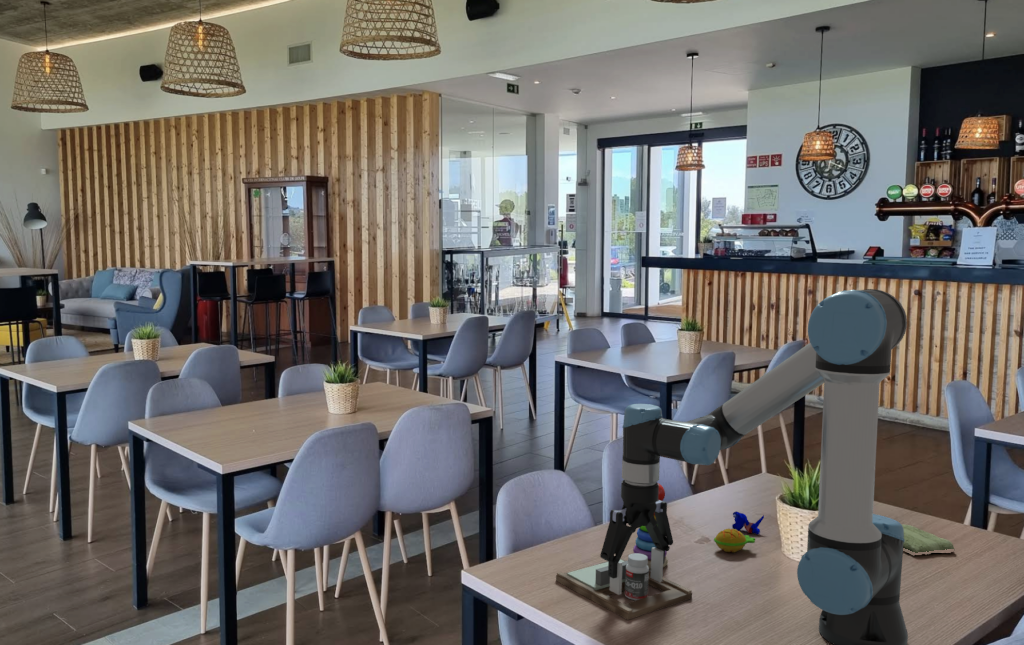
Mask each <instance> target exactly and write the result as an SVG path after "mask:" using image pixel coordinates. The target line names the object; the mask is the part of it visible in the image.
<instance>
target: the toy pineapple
mask: <svg viewBox="0 0 1024 645" xmlns="http://www.w3.org/2000/svg"><path fill="white" fill-rule="evenodd" d="M713 541H714V542H715V544H716V546H717V547H718V548H719V549H721V551H724V552H726V553H736V552H739V551H741V550H743V548H744V547H745V546H746V545H747V544H755V543H756V538H755V537H751V536H750V535H746V534H745V535H744V533H742V532H741V530H740V531H738V530H736V529H733V528H725V529H723V530H721V531H719V532H718V533H717V534H716V536H715V537H714V539H713Z"/></svg>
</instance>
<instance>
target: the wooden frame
mask: <svg viewBox="0 0 1024 645" xmlns="http://www.w3.org/2000/svg"><path fill="white" fill-rule="evenodd" d="M620 559H621V560H623V561H628V559H625V558H622V557H621V558H620ZM605 562H608V561H607V560H606V561H604V562H601V563H595V564H593V565H589V566H585V567H582V568H579V569H574V570H570V571H568V572H562V571H559V572H556V575H555V582H558V583H559V584H561V585H563V586H565V587H566V588H569V589H570V590H572V591H574V592H575V593H577V594H579V595H581V596H583V597H585V598H587V599H588V600H590V601H592V602H594V603H596V604H598V605H599V606H601V607H603V608H605V609H607V610H608V611H610V612H613V613H614V614H616V615H618V616H620V617H621V618H623V619H625V620H627V621H629V620H631V619H635V618H637V617H640V616H643V615H646V614H649V613H652V612H655V611H658V610H662V609H664V608H667V607H670V606H674V605H676V604H680V603H682V602H685V601H688V600H691V599H693V592H692V590H691V589H689V588H687V587H686V586H682V585H681V584H678V583H677V582H674V581H672V580H670V579H667V578H666V577H663V579H662V582H658V581H656V580H654V579H652V578H651V570H649V580H648V586H651V587H653V588H655V589H657V590H659V591H661V592H659V593H656V594H651V595H648V597H646V598H643V599H639V600H632V601H630V602H628V603H623V602H622V601H620V600H618V599H616V598H614V597H612V596H610V595H613V594H615V593H614V592H612V591H610V590H609V589H610V586H609V587H605V588H602V589H599V590H594V589H592V588H590V587H588V586H586V585H584V584H583V583H581V582H579V581H577V580H575V579H573V578H571V577H569V576H567V573H569V572H573V571H576V570H580V569H584V568H587V567H591V566H594V565H598V564H602V563H605ZM622 591H625V582H622Z"/></svg>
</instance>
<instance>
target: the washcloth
mask: <svg viewBox="0 0 1024 645" xmlns="http://www.w3.org/2000/svg"><path fill="white" fill-rule="evenodd" d="M901 525H902V526H903V529H904V539H905V542H904V543H903V548H905V549H908V550H910V551H912V552H915V553H918V552H926V551H927V552H929V551H934V550H945V549H946V550H947V549H954V550H955V547H954V544H953V543H952V541H950V540H949V539H946V538H941V537H940V536H937V535H935V534H933V533H930V532H928V531H925V530H922V529H920V528H918V527H916V526H913V525H911V524H901Z"/></svg>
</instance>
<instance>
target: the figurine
mask: <svg viewBox="0 0 1024 645" xmlns="http://www.w3.org/2000/svg"><path fill="white" fill-rule="evenodd" d="M732 517H733V519H734V523H732V525H731V527H732V529H736V530H738V531H740V532H741V530H742V529H743V528H744V529H745V531H747V533H748V534H754V533H755V535H758V534H759V535H760V533H761V529H760V528H758V527H760V524H761V523H762V521H763V520H764V518H765V515H764V514H763V515H762V516H761V517H760V518H759V519H758V520H757V521H756V522H751V521H749V519H748V516H747V515H746V514H745V513H744V512H743V513H742V512H739V511H737V510H736V511H733V513H732Z"/></svg>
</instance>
